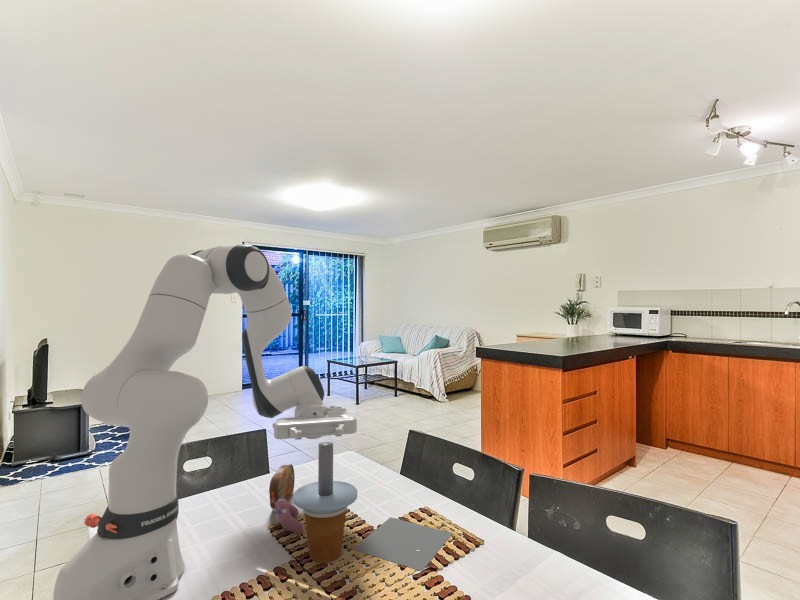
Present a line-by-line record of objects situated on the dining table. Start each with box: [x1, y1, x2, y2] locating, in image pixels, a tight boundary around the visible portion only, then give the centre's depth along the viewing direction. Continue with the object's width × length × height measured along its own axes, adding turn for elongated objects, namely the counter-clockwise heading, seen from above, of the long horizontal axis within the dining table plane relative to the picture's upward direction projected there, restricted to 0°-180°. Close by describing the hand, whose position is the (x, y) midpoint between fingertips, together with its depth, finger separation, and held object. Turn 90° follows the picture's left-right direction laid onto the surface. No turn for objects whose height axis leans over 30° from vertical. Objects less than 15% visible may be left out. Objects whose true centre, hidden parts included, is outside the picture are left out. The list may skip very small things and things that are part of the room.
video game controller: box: [273, 499, 304, 534], centre depth 101 cm, size 10×5×7 cm, turn 21°
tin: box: [268, 464, 295, 510], centre depth 114 cm, size 15×3×8 cm, turn 179°
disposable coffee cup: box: [302, 506, 348, 564], centre depth 89 cm, size 10×10×12 cm
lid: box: [292, 441, 358, 512], centre depth 89 cm, size 13×13×11 cm
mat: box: [352, 517, 454, 572], centre depth 93 cm, size 16×16×1 cm
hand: (319, 434), depth 101 cm, fingers open, 8 cm apart
